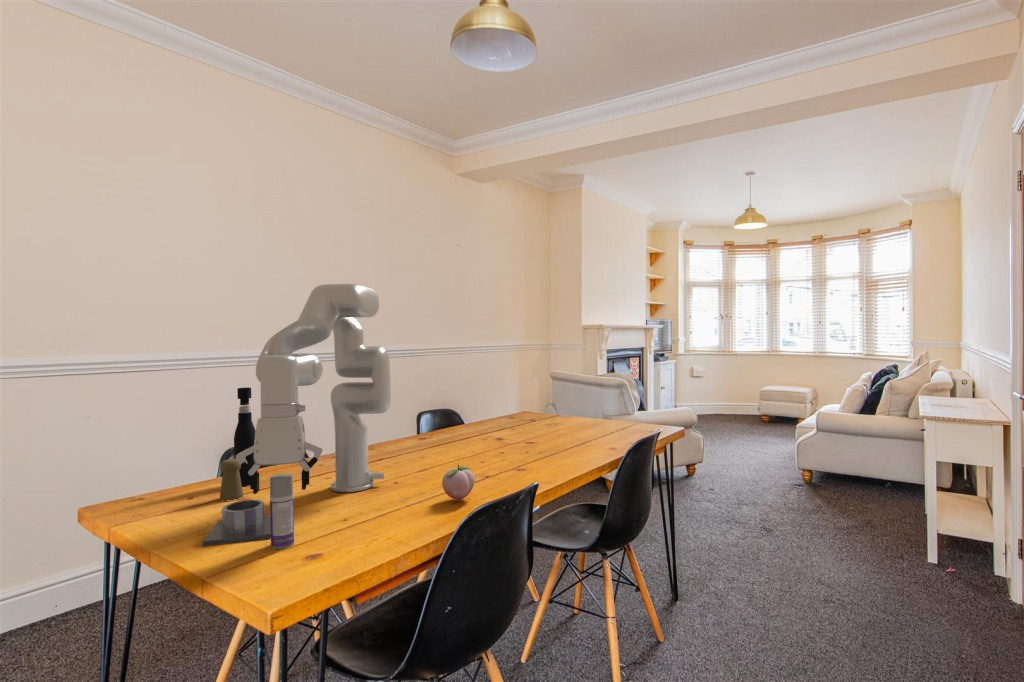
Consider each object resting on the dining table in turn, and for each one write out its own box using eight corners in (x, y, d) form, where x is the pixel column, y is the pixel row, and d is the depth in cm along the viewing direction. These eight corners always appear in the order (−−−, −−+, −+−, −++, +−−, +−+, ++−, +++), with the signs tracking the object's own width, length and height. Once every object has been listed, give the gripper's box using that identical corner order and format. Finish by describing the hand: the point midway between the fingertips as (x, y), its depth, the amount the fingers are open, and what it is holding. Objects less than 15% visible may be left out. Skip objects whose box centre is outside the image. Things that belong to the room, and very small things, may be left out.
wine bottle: (229, 485, 163) (227, 388, 163) (247, 480, 169) (245, 386, 169) (245, 487, 161) (243, 389, 160) (262, 481, 167) (260, 387, 166)
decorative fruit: (454, 494, 150) (453, 459, 150) (479, 497, 146) (478, 462, 146) (435, 504, 142) (434, 467, 141) (461, 507, 138) (461, 469, 138)
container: (275, 541, 117) (274, 474, 117) (297, 540, 118) (295, 473, 117) (267, 549, 113) (266, 479, 112) (290, 548, 113) (288, 478, 113)
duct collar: (280, 517, 132) (280, 494, 132) (271, 538, 119) (270, 511, 119) (218, 524, 129) (218, 499, 129) (201, 545, 115) (201, 518, 115)
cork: (233, 501, 147) (232, 462, 146) (214, 500, 148) (213, 461, 148) (248, 495, 152) (247, 457, 152) (230, 494, 154) (229, 456, 154)
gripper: (323, 407, 121) (323, 482, 120) (239, 411, 116) (240, 489, 116) (320, 411, 113) (321, 491, 113) (231, 415, 109) (232, 498, 108)
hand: (280, 490), depth 114 cm, fingers open, 9 cm apart
